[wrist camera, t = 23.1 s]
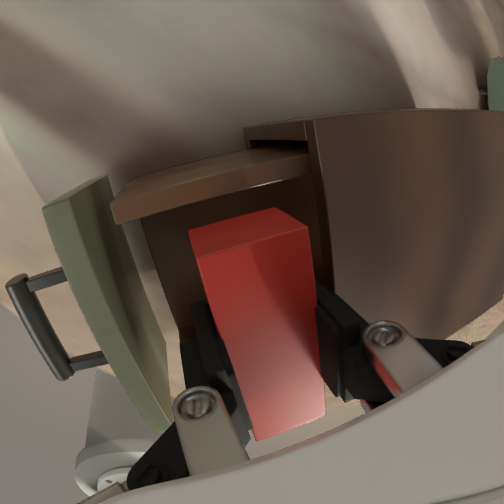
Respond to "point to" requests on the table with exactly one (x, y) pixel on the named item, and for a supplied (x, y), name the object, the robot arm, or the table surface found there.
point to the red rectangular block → (265, 314)
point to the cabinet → (407, 211)
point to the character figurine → (494, 85)
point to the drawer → (155, 258)
